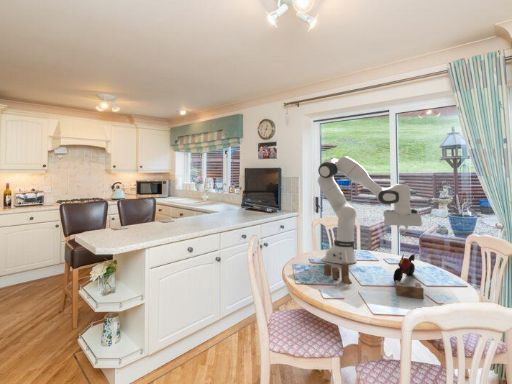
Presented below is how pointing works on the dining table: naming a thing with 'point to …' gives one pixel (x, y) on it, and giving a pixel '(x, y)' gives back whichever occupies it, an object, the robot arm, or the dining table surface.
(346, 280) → the wooden block set
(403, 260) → the toy motorcycle
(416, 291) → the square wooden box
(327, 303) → the dining table surface
